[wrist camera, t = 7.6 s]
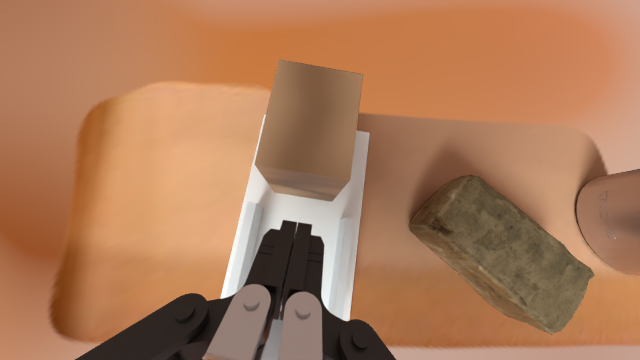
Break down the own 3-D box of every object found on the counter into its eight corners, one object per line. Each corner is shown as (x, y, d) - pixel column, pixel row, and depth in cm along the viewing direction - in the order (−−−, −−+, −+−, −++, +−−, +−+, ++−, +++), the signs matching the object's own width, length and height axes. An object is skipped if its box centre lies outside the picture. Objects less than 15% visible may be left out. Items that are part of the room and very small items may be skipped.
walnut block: (341, 133, 21) (363, 74, 13) (331, 201, 19) (350, 180, 12) (288, 124, 21) (278, 59, 13) (274, 192, 19) (254, 164, 12)
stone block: (435, 181, 21) (474, 166, 17) (537, 266, 20) (611, 276, 15) (399, 227, 20) (430, 226, 15) (506, 321, 19) (576, 351, 14)
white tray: (367, 135, 22) (380, 116, 18) (341, 376, 17) (350, 414, 13) (265, 117, 22) (258, 94, 18) (208, 358, 17) (183, 390, 13)
